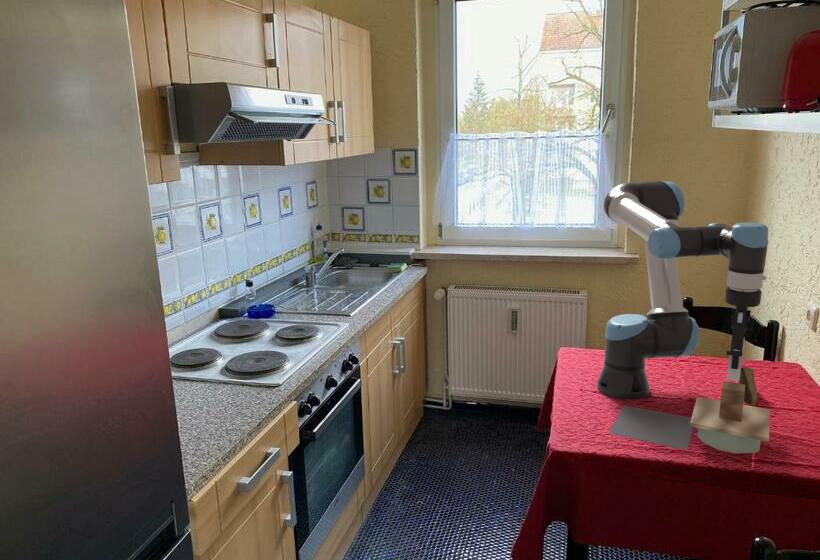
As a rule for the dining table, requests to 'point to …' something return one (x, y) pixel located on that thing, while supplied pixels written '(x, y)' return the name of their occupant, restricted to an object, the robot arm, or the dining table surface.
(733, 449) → the bowl
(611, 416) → the dining table surface
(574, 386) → the dining table surface
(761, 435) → the lid
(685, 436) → the mat
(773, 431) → the dining table surface
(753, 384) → the rock
